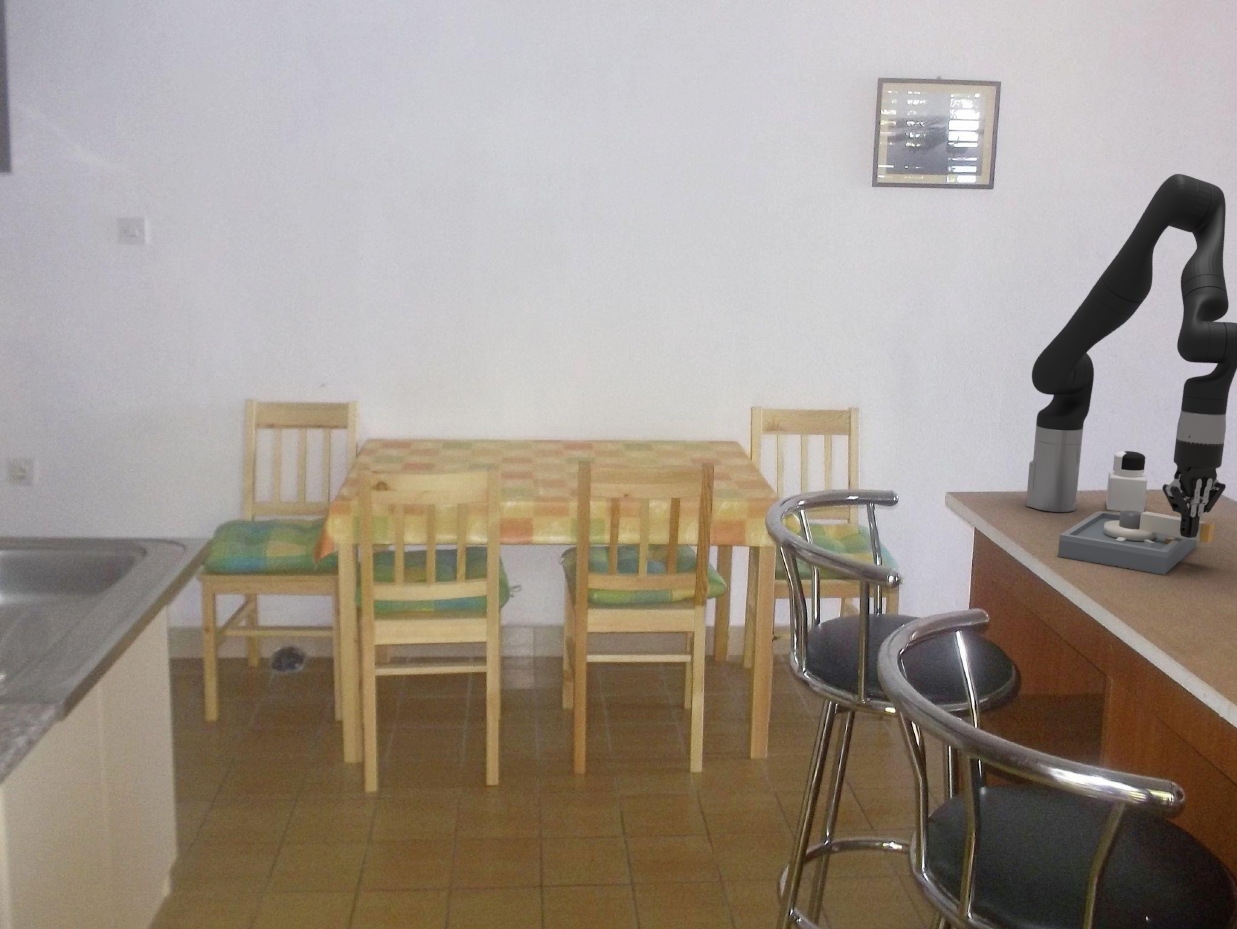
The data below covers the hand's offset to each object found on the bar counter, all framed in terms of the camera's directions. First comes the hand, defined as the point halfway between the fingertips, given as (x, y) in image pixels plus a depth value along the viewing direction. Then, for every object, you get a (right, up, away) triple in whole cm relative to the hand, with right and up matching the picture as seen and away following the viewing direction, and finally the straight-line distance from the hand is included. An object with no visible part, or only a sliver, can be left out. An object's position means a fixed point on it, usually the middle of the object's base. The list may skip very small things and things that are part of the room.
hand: (1188, 536), depth 213 cm
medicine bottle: (+8, +3, +45) cm, 46 cm away
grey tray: (-6, -3, +11) cm, 13 cm away
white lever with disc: (-2, -1, +7) cm, 8 cm away
